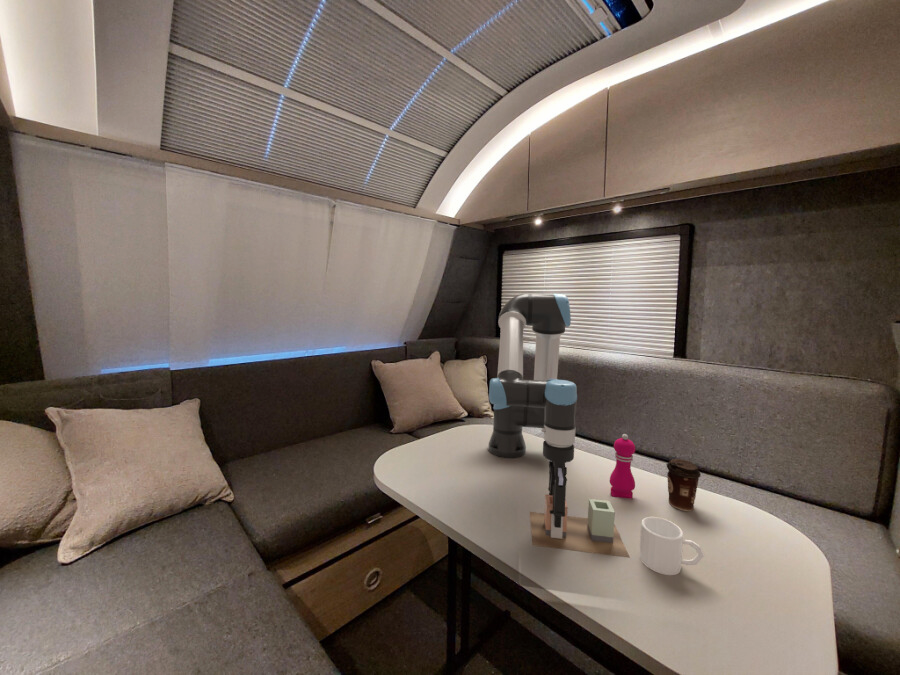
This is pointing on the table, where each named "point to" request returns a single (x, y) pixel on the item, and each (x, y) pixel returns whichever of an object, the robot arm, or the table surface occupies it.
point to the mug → (664, 546)
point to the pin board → (575, 537)
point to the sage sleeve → (601, 520)
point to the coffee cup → (682, 483)
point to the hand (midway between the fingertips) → (554, 529)
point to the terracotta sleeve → (548, 516)
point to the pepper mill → (623, 469)
